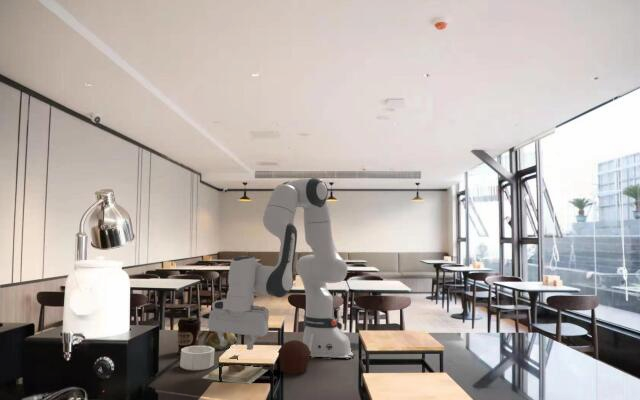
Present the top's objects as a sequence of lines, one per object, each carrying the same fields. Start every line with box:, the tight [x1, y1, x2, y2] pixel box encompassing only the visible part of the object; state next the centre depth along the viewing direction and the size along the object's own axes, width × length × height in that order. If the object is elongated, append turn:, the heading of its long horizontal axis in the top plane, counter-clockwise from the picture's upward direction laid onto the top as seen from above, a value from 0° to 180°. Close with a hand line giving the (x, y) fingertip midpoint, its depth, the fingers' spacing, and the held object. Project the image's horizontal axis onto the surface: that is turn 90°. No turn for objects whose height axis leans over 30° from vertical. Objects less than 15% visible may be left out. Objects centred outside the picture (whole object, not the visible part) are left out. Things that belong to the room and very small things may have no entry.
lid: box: [208, 354, 264, 382], centre depth 139 cm, size 13×13×5 cm
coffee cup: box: [177, 316, 201, 355], centre depth 164 cm, size 9×8×13 cm
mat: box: [202, 368, 269, 384], centre depth 138 cm, size 16×16×1 cm
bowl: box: [179, 345, 216, 371], centre depth 146 cm, size 11×11×6 cm
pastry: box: [202, 329, 239, 351], centre depth 175 cm, size 14×12×8 cm
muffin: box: [277, 339, 311, 375], centre depth 146 cm, size 12×11×10 cm
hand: (236, 347), depth 139 cm, fingers open, 8 cm apart
